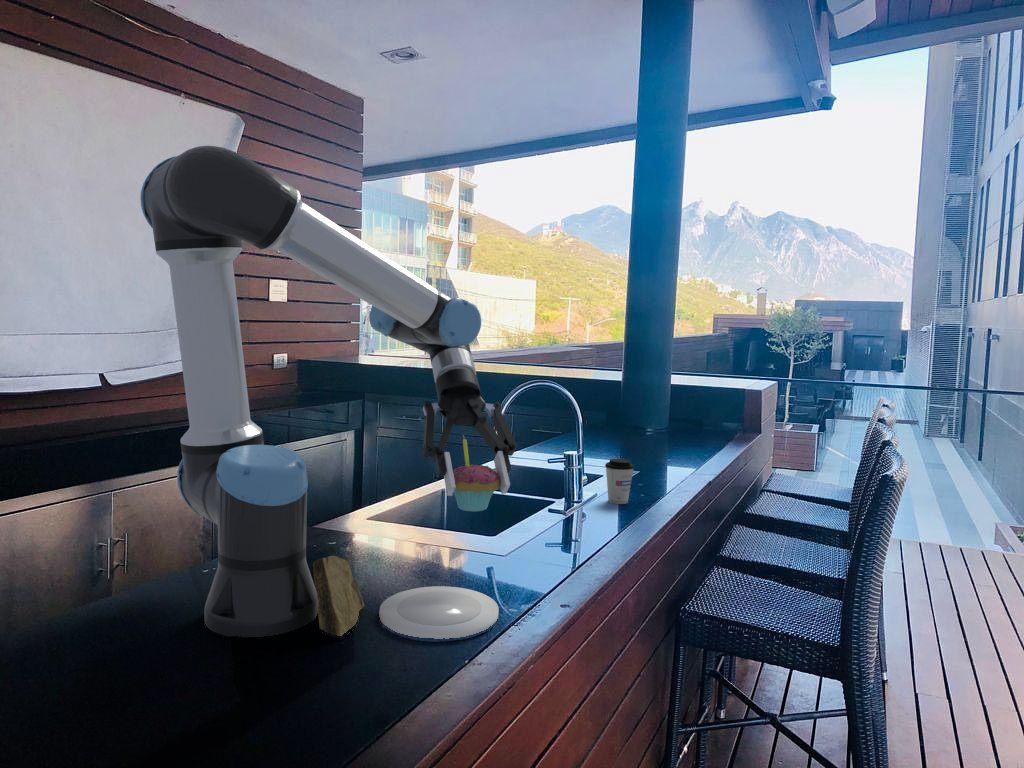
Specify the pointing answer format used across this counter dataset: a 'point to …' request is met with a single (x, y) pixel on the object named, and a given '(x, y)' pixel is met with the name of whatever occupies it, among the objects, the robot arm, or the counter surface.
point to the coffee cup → (619, 480)
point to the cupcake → (474, 484)
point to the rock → (336, 595)
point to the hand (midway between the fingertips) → (479, 490)
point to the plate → (439, 612)
